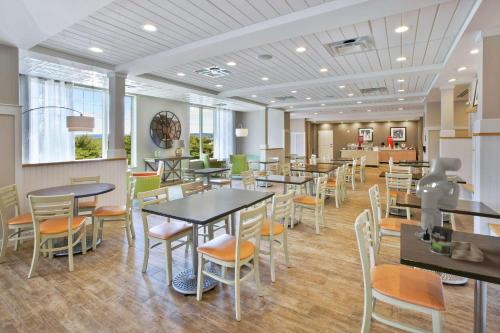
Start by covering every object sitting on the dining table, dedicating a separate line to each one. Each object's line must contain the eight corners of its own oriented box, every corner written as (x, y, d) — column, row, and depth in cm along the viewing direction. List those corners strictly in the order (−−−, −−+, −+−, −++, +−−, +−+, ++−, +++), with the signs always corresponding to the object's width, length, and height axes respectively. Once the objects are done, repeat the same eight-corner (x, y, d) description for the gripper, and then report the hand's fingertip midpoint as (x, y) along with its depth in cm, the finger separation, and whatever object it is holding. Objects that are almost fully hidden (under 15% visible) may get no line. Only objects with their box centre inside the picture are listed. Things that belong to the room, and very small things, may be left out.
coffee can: (445, 257, 155) (447, 232, 154) (426, 250, 164) (428, 227, 163) (454, 253, 160) (456, 229, 159) (435, 247, 169) (437, 224, 168)
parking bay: (452, 258, 154) (452, 249, 153) (443, 247, 169) (443, 239, 168) (482, 262, 149) (483, 253, 149) (470, 251, 164) (471, 242, 163)
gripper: (418, 206, 171) (416, 235, 173) (424, 212, 157) (421, 244, 159) (432, 207, 168) (430, 236, 170) (439, 214, 154) (437, 245, 156)
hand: (426, 240), depth 164 cm, fingers closed
